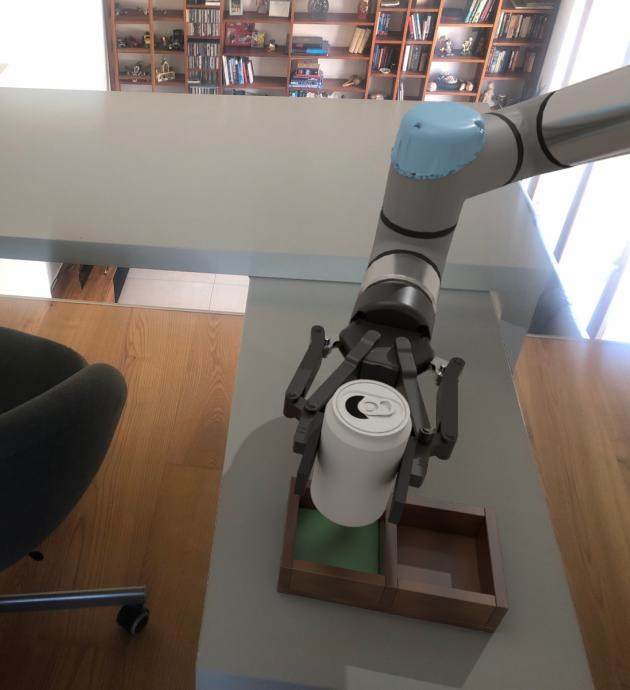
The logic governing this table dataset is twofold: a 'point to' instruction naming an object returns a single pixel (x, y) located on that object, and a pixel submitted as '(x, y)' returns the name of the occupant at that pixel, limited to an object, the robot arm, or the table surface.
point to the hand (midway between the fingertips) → (347, 498)
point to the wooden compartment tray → (399, 561)
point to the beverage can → (359, 452)
